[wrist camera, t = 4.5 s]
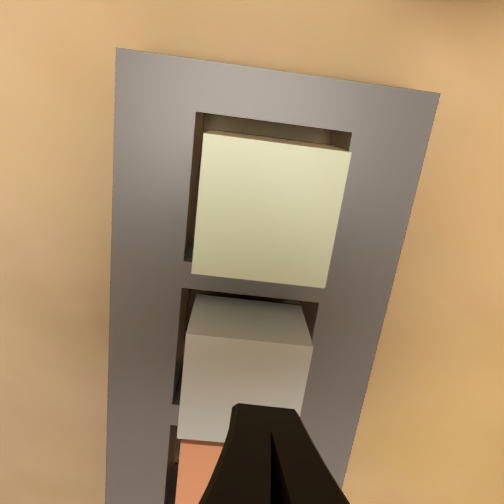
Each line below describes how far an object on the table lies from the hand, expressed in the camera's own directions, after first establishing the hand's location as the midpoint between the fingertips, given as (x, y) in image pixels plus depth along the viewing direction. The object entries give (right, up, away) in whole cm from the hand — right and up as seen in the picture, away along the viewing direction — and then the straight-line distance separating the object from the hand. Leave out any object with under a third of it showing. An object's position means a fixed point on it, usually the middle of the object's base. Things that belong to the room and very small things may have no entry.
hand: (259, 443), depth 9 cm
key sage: (0, +6, +6) cm, 8 cm away
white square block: (-1, 0, +7) cm, 7 cm away
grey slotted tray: (-1, -2, +11) cm, 11 cm away
